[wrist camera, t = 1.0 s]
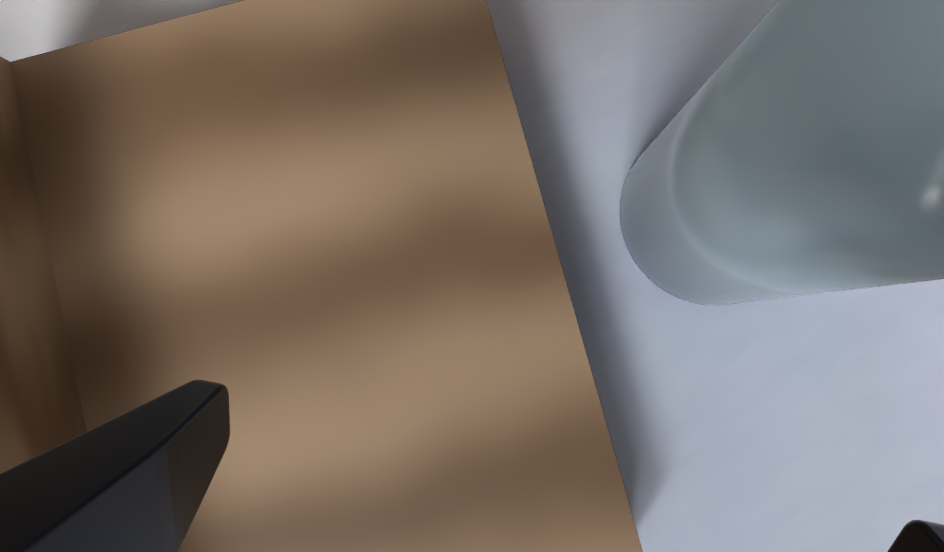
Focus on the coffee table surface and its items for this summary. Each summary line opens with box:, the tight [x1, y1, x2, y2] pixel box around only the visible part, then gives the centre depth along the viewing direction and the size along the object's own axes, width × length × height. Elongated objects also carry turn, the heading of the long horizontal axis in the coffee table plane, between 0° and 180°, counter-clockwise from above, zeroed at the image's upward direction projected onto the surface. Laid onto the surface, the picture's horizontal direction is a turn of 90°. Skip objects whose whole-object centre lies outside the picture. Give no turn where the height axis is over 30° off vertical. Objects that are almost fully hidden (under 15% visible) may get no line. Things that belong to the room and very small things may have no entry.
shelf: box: [0, 0, 643, 552], centre depth 18 cm, size 20×16×8 cm
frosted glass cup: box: [620, 0, 944, 305], centre depth 16 cm, size 6×6×13 cm
